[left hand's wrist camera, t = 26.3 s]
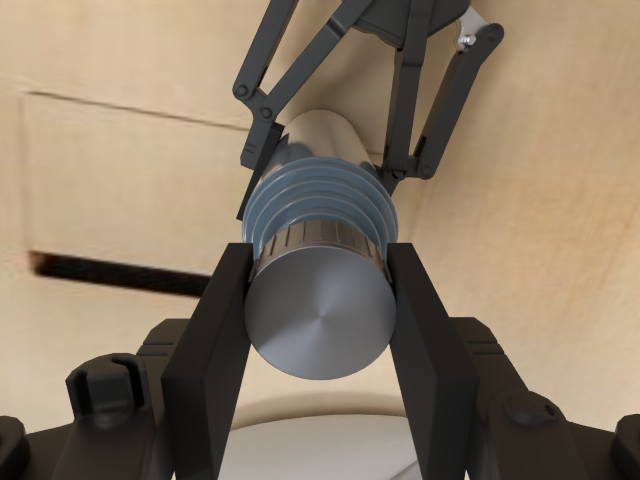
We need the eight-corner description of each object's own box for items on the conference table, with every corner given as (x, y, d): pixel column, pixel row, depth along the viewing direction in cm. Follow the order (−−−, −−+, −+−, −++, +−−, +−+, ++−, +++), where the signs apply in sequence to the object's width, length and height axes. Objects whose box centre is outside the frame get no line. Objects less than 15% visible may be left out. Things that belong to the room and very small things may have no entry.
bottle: (376, 143, 36) (475, 286, 13) (326, 204, 38) (336, 423, 15) (313, 91, 35) (298, 149, 12) (264, 157, 37) (169, 318, 13)
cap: (416, 259, 14) (431, 291, 12) (343, 360, 16) (347, 404, 14) (293, 191, 13) (289, 214, 11) (228, 304, 15) (214, 341, 13)
